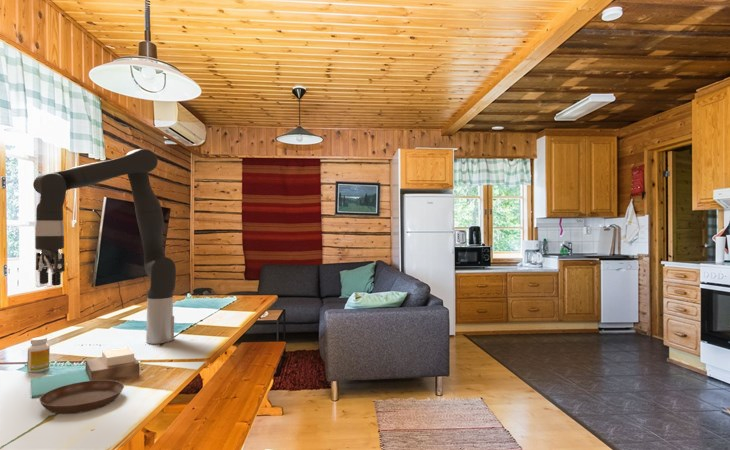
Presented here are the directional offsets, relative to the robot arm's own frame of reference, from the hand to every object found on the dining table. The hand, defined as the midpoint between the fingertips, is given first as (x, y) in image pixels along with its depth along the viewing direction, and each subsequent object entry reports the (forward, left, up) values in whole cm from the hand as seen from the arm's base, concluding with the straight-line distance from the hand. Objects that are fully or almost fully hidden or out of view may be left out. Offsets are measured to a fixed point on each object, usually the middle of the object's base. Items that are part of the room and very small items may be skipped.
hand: (50, 284), depth 136 cm
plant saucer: (-5, +44, -26) cm, 51 cm away
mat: (-2, +25, -26) cm, 36 cm away
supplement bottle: (+3, +6, -26) cm, 27 cm away
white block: (-16, +25, -22) cm, 36 cm away
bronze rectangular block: (-14, +25, -26) cm, 38 cm away
